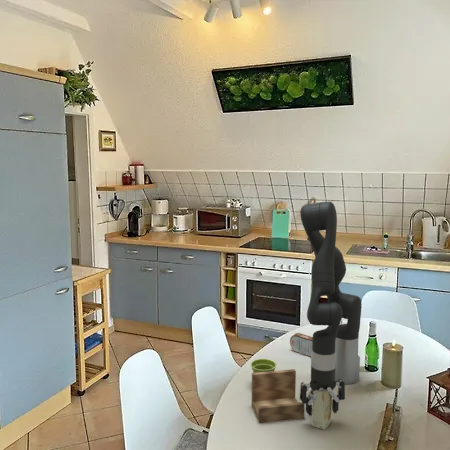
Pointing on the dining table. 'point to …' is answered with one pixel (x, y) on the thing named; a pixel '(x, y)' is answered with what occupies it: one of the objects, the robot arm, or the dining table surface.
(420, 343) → the dining table surface
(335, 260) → the robot arm
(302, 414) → the wooden holder
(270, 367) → the plant pot
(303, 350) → the tin
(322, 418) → the skincare box
